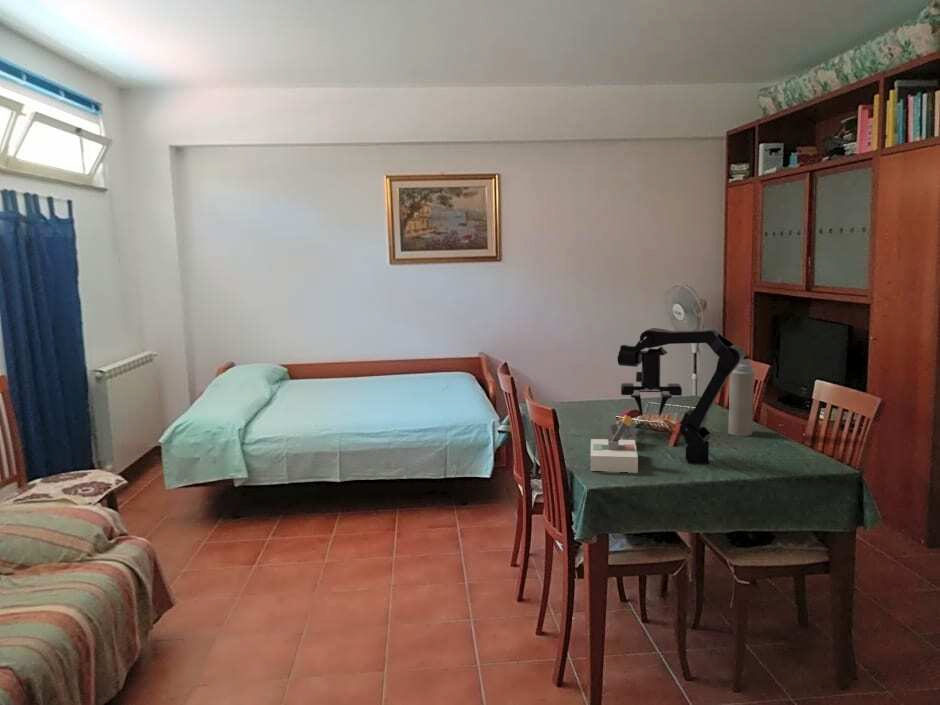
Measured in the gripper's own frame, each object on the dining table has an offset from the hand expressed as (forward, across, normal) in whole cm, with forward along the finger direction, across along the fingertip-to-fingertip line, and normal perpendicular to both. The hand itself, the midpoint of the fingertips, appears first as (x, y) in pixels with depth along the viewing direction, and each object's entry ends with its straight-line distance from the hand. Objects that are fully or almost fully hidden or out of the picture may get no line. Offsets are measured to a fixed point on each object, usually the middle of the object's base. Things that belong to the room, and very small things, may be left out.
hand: (650, 415), depth 231 cm
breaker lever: (+6, +12, +10) cm, 17 cm away
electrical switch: (+13, +8, -10) cm, 18 cm away
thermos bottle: (+13, -33, -27) cm, 45 cm away
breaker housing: (+13, +12, +10) cm, 20 cm away
